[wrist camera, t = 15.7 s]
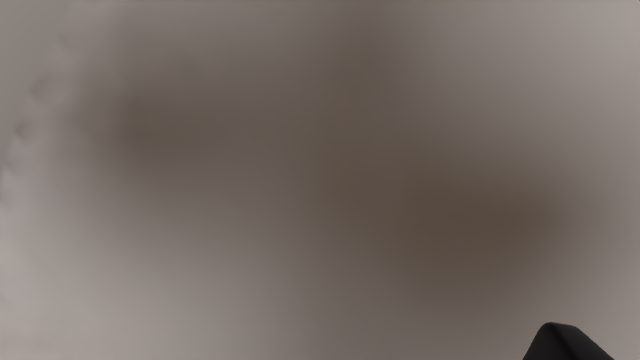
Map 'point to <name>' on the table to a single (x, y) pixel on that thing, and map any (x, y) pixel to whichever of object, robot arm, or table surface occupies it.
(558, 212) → the table surface
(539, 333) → the robot arm
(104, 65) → the table surface
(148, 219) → the table surface
